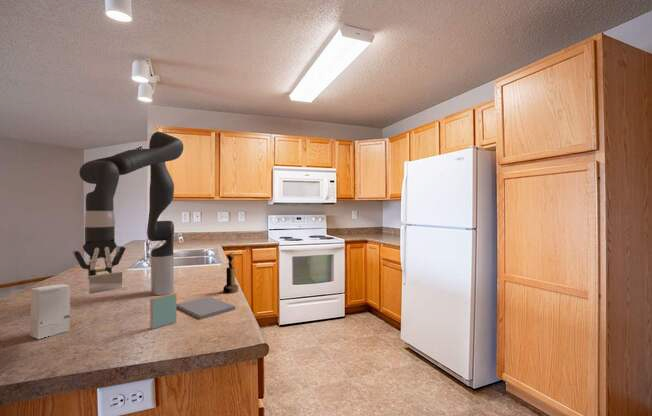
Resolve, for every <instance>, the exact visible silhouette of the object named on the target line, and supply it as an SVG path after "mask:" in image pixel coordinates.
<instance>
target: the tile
mask: <svg viewBox="0 0 652 416" xmlns="http://www.w3.org/2000/svg"><path fill="white" fill-rule="evenodd" d="M176 304H177V293H176V292H172V293H169V294H164V295H157V296H154V297H150V298H149V329H150V330H155V329H159V328H163V327H166V326H169V325H173V324H176V323H177V307H176Z"/></svg>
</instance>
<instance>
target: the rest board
mask: <svg viewBox="0 0 652 416" xmlns="http://www.w3.org/2000/svg"><path fill="white" fill-rule="evenodd" d="M176 309H179V310H181V311H183V312H184V313H187V314H189V315H191V316H193V317H195V318H198V319H200V320H204V319H206V318H209V317H214V316H217V315H220V314H224V313H228V312H231V311H234V310H236V305H234V304H231V303H228V302H225V301H222V300H219V299H217V298H215V297H212V296H206V297H202V298H196V299H193V300H189V301H183V302H180V303H176Z"/></svg>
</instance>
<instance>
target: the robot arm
mask: <svg viewBox="0 0 652 416" xmlns="http://www.w3.org/2000/svg"><path fill="white" fill-rule="evenodd" d="M148 143H149V144H148V148H135V149H127V150H125V151H122V152H119V153H116V154H114V155H111V156H106V157H102V158H97V159H92V160H89V161H87V162H85V163H84V164H82V165H81V166H80V168H79V171H78V173H79V176H80V179H81V180H82V181H84V182H85V183H87V184H90V185H95V187H94V190H93V191H92V190H91V191H89V192H88V193H87V194H86V195H85V213H84V214H85V215H84V244H83V246H82V248H80V249H77V250H72V254H73V256H74V258H75V259H76V261H77V263H78V264H79V266H80V268H81V269H83V270H87V271H88V270H89V276H94V275H95V273H96V270H95V265H97V264H96V263H97V262H98V259H100V258H101V259H102V258H103V261H104V265H105V267H104V269H105V270H106V271H108V272H109V273H113V271H112V269H113V267H114V266H118V265H119V263H120V261H121V260H122V257H123V255H124V253H125V250H126V247H124V246H122V245H121V246H120V245H117V243H116V241H115V240H116V238H115V236H116V235H115V232H116V231H115V228H116V227H115V226H116V225H115V224H116V220H115V213H114V211H115V210H114V209H115V208H114V198H115V194H116V191H117V188H118V184H119V179H120V176H123V175H127V174H130V173H132V172H135V171H137V170H139V169H143V168H145V167H149V166H150V169H149V170H150V171H149V172H150V173H149V174H150V181H149V199H148V200H149V202H148V203H149V204H148V205H149V209H148V210H149V211H148V219H147V228H146V236H147V239H148V240H149V241H150V242H163V241H165V243H163V244H162V245H160V246H158V247H155V248H153V249H151V251H150V294H151V295H153V296H163V295H167V294H172V293H174V283H175V282H174V281H175V280H174V279H175V278H174V275H175V274H174V273H175V272H174V269H175V268H174V240H175V239H174V237H175V225H174V223H173V221H172V220H158V219H159V217H160V216H161V214H162V213H163V212H164V211H165V210H166V209H167V208H168V207H169V205H170V204H171V203H172V202H173V199H174V193H175V183H174V180H173V179H172V176H171V174H170V172H169V170H168V168H167V166H166V162H171V161H174V160H177V159H179V158H180V157H181V156H182V154H183V153H184V152H183V151H184V143H183V142H182V140H181V139H180V138H177V137H175V136H172V135H170V134H168V133H164V132H161V131H156V132H154V133H153V134H152V135H151V136H150V139H149V142H148ZM114 251H115V255H114V257H113V259H112V258H111V257H112V256H111V255H112V253H113V252H114ZM84 252H85V253H86V254H87V255H88V256H89V260H88V264H87V263H86V261H85V259H84V258H83V256H84V255H85V254H84Z"/></svg>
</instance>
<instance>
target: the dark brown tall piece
mask: <svg viewBox="0 0 652 416" xmlns="http://www.w3.org/2000/svg"><path fill="white" fill-rule="evenodd" d="M234 258H235V254H234V253H233V252H229V253H227V259H228V263H227V264H228V267H226V285H223V293H225V294H233V293H237V292H238V291H239V285H237V284H236V267H234V261H233V260H234Z"/></svg>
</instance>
